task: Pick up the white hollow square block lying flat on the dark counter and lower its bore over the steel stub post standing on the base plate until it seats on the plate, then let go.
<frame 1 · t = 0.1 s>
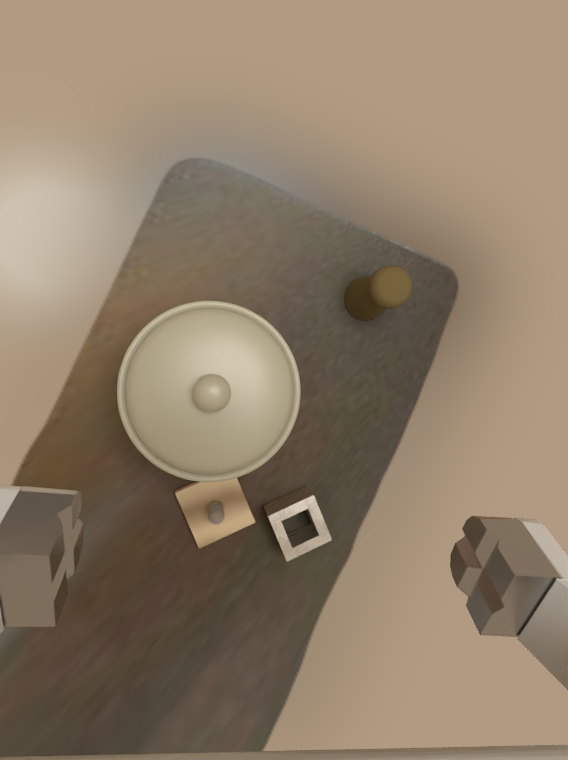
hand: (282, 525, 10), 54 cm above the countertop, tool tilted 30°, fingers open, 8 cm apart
white hollow square block: (293, 516, 65), on the countertop
base plate: (215, 504, 64), on the countertop
olive pepper mill: (364, 299, 67), on the countertop
canister: (210, 387, 63), on the countertop
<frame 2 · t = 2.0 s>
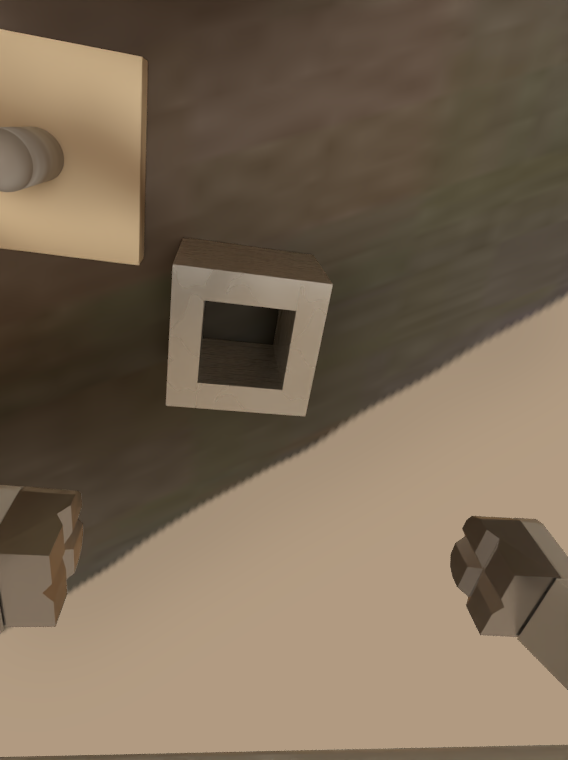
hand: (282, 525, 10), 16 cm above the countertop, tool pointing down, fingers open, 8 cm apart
white hollow square block: (242, 308, 25), on the countertop
base plate: (50, 152, 20), on the countertop
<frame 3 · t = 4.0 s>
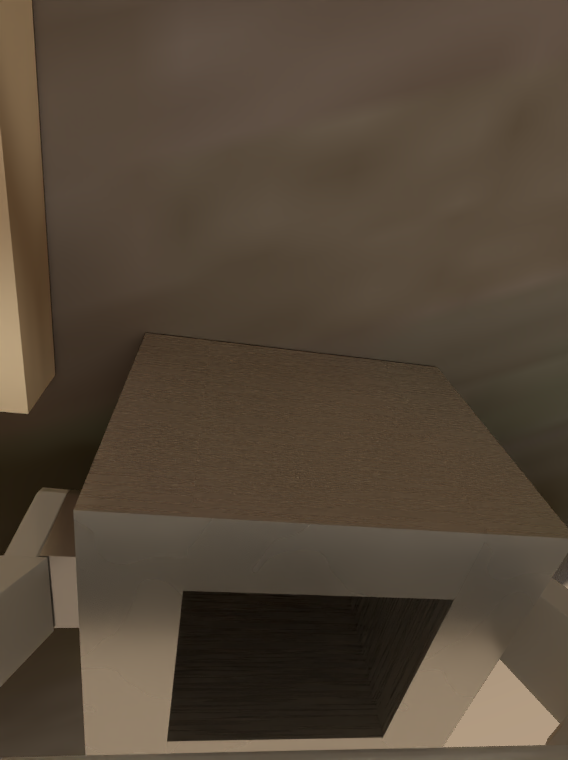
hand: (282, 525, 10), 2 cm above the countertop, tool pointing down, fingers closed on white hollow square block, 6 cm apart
white hollow square block: (274, 467, 12), on the countertop, touching gripper
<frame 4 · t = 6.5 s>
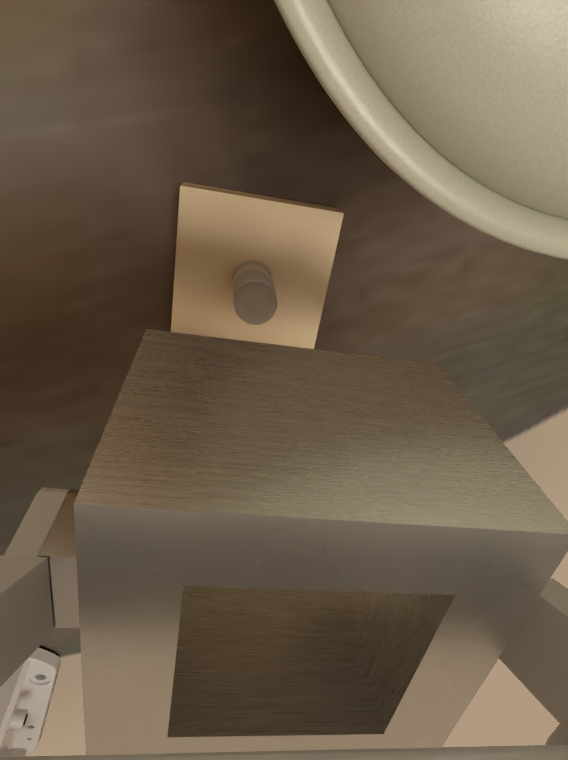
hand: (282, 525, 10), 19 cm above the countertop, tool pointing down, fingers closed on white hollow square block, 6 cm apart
white hollow square block: (275, 464, 12), point 17 cm above the countertop, touching gripper
base plate: (251, 271, 26), on the countertop
when the fingers open (5 cm above the countertop, at t = 9.0 s): white hollow square block drops 1 cm, resting on base plate.
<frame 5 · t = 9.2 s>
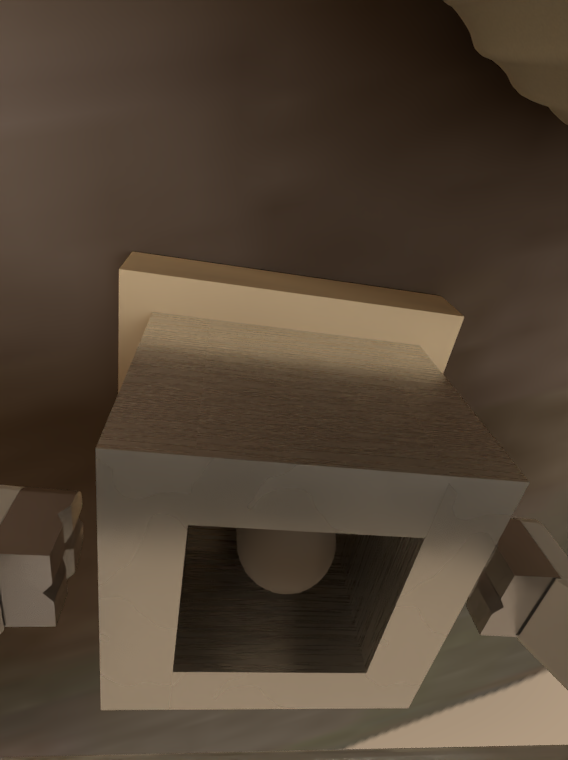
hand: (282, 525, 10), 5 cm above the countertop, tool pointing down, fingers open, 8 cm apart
white hollow square block: (270, 439, 13), point 1 cm above the countertop, touching base plate
base plate: (270, 407, 14), on the countertop
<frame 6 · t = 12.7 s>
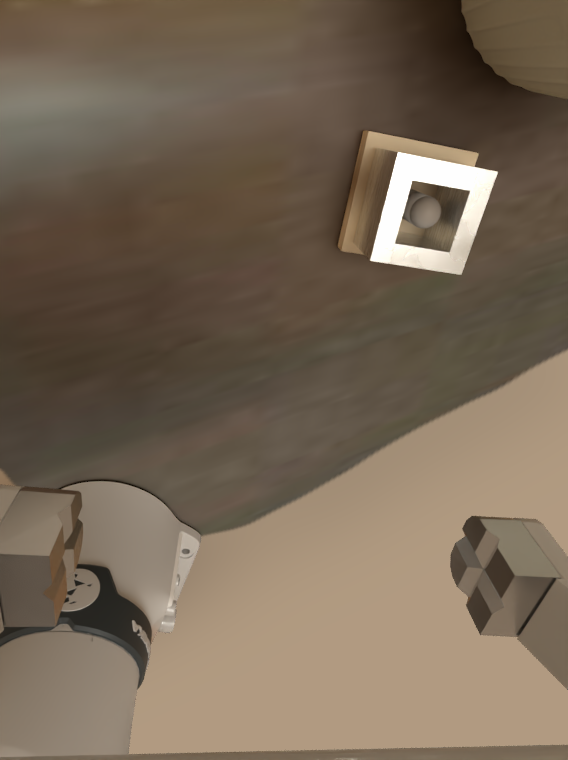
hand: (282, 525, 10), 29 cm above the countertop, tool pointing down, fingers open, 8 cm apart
white hollow square block: (406, 204, 34), point 1 cm above the countertop, touching base plate
base plate: (401, 200, 35), on the countertop
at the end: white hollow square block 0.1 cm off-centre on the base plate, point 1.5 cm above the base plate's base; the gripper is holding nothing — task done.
